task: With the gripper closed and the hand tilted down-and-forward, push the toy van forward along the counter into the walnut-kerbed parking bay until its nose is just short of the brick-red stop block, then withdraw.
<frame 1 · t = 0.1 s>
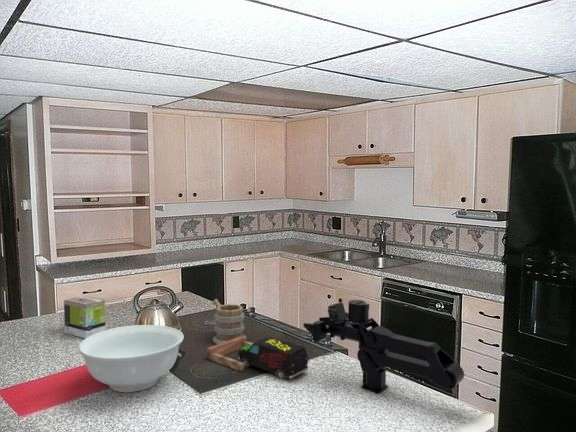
hand: (311, 321, 168), 17 cm above the worktop, tool horizontal, fingers open, 9 cm apart
bay: (241, 357, 178), on the worktop
toy van: (272, 369, 168), on the worktop
tankard: (225, 338, 200), on the worktop
bowl: (133, 382, 156), on the worktop
tea box: (85, 333, 205), on the worktop
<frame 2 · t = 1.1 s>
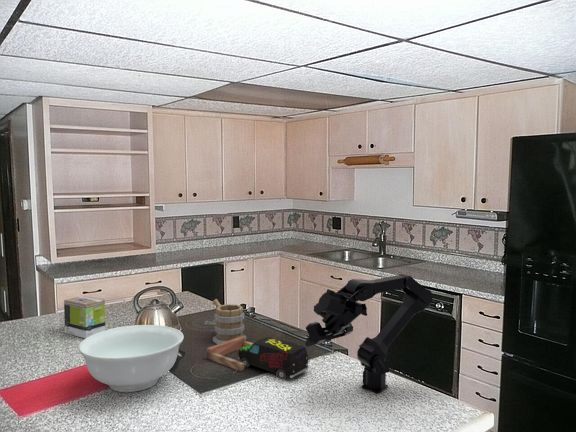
hand: (315, 342, 156), 13 cm above the worktop, tool tilted 45°, fingers open, 9 cm apart
nothing on the worktop moved.
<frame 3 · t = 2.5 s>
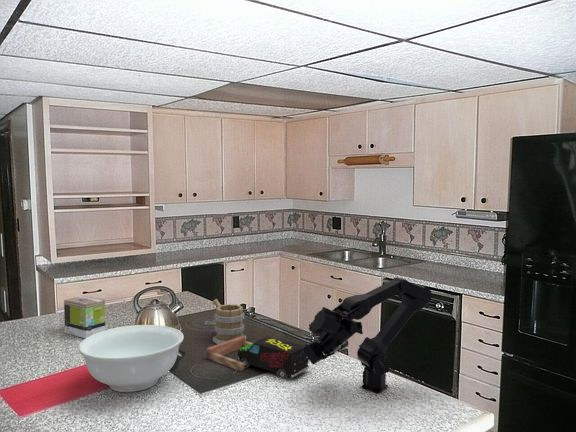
hand: (311, 359, 157), 8 cm above the worktop, tool tilted 45°, fingers closed
nothing on the worktop moved.
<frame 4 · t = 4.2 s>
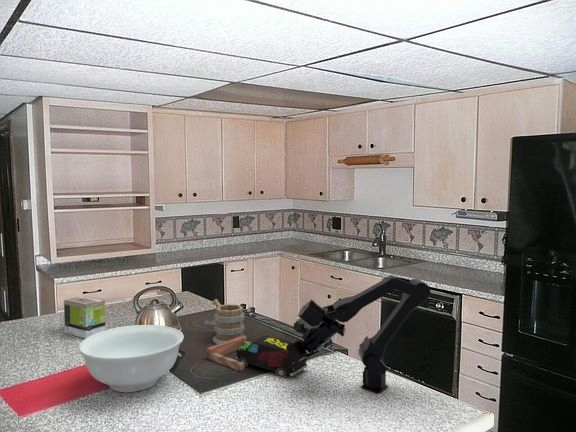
hand: (295, 357, 161), 7 cm above the worktop, tool tilted 45°, fingers closed
toy van: (271, 368, 169), on the worktop, touching gripper
everything else where it was.
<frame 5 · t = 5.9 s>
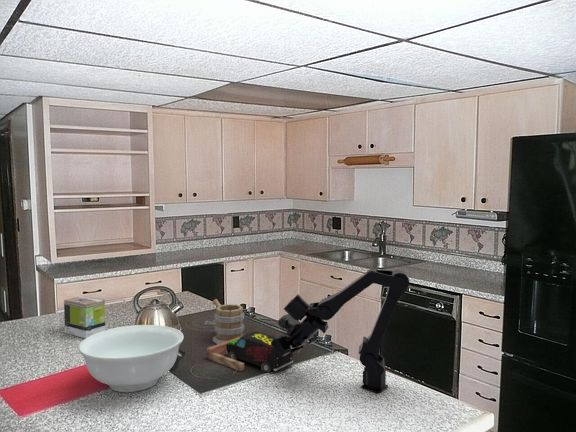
hand: (281, 353, 165), 7 cm above the worktop, tool tilted 45°, fingers closed
toy van: (258, 363, 174), on the worktop
everything else where it was.
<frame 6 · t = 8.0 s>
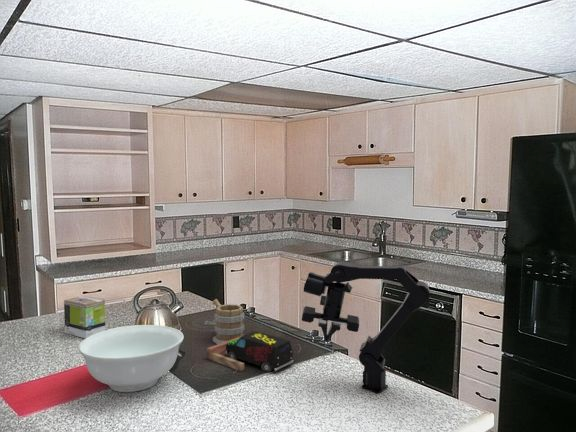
hand: (326, 340, 160), 13 cm above the worktop, tool tilted 15°, fingers closed
nothing on the worktop moved.
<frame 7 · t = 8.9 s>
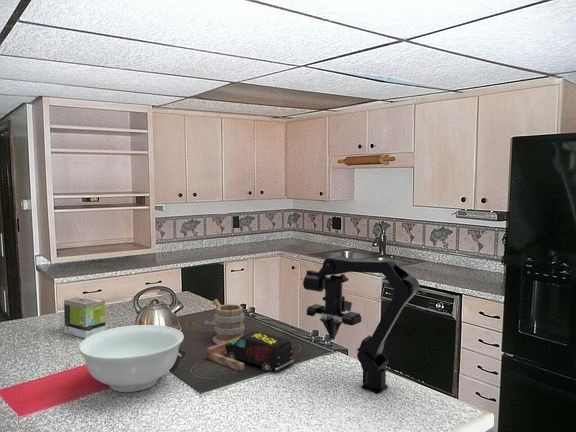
hand: (332, 339, 161), 13 cm above the worktop, tool pointing down, fingers closed
nothing on the worktop moved.
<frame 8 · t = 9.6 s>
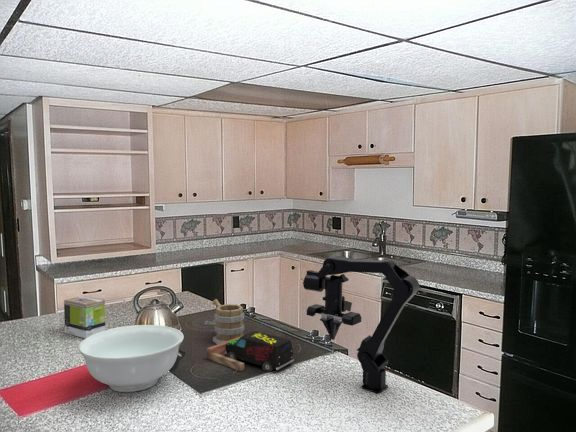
hand: (332, 339, 161), 13 cm above the worktop, tool pointing down, fingers closed
nothing on the worktop moved.
at the end: toy van inside the target area (1.8 cm from its centre), on the worktop; toy van tilted 0°; toy van touching worktop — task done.
